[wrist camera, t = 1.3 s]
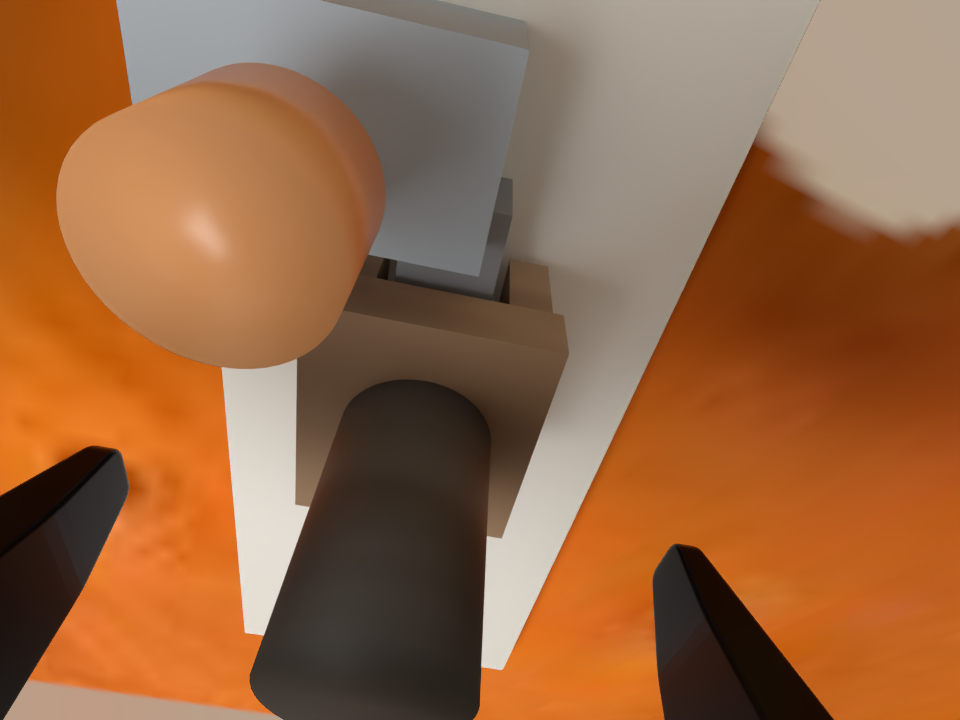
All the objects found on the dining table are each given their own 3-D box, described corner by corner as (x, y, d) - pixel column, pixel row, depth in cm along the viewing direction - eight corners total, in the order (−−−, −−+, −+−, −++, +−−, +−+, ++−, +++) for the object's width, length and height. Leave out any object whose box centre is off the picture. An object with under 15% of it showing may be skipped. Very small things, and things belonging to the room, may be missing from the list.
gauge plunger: (375, 297, 7) (340, 389, 6) (177, 258, 7) (89, 343, 5) (397, 92, 6) (357, 146, 4) (149, 36, 6) (18, 71, 4)
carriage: (503, 439, 15) (497, 789, 9) (331, 409, 14) (200, 752, 8) (557, 268, 12) (605, 617, 6) (343, 224, 11) (152, 547, 5)
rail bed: (502, 644, 23) (501, 758, 20) (254, 607, 22) (211, 719, 19) (800, -17, 10) (941, 5, 7) (203, -171, 9) (31, -230, 6)
